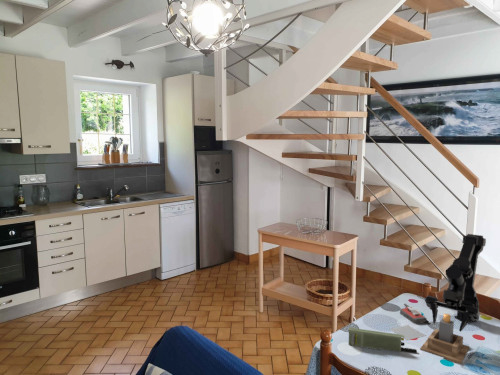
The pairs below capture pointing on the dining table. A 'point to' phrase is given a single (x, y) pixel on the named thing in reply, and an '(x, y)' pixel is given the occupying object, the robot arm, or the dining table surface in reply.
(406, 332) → the mat
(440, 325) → the connector plug
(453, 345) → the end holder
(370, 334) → the handheld radio
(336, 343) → the dining table surface
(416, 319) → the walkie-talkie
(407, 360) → the dining table surface
